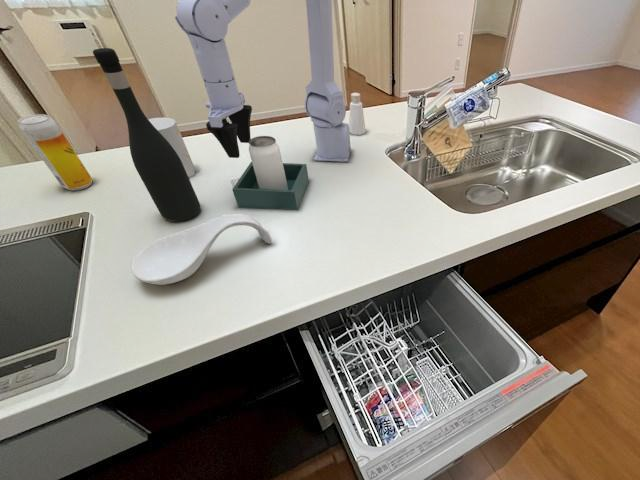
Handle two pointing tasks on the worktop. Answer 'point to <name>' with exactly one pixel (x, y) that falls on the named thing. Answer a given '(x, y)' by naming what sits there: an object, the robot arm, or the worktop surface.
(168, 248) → the spoon rest
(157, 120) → the cup
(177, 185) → the wine bottle
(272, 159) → the can
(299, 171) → the box
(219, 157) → the worktop surface
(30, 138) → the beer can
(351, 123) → the pepper shaker
